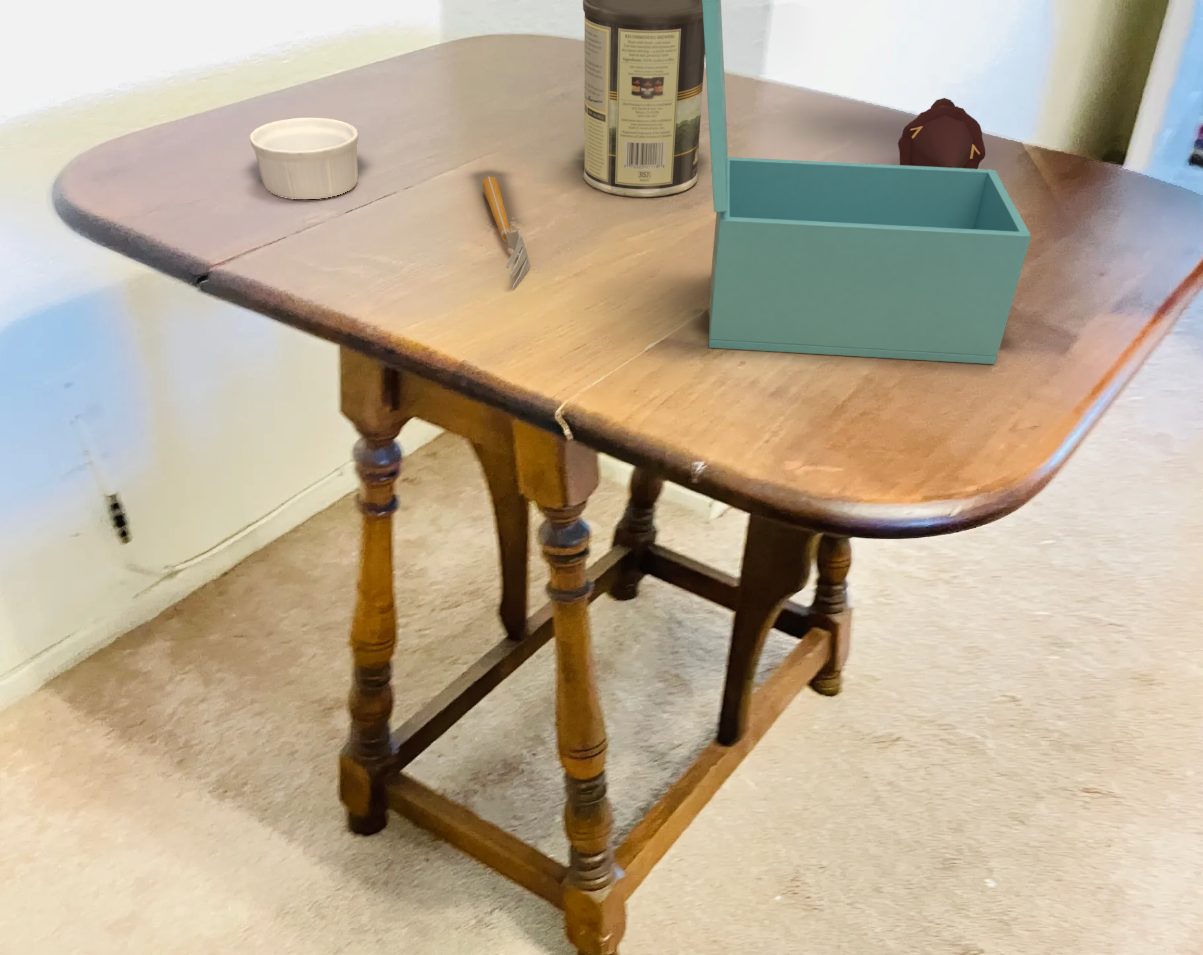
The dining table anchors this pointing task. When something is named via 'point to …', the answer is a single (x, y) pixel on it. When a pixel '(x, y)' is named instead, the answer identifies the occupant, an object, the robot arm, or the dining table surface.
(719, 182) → the lid
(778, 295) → the box
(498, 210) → the fork
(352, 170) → the ramekin
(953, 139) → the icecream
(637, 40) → the coffee can
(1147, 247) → the dining table surface
